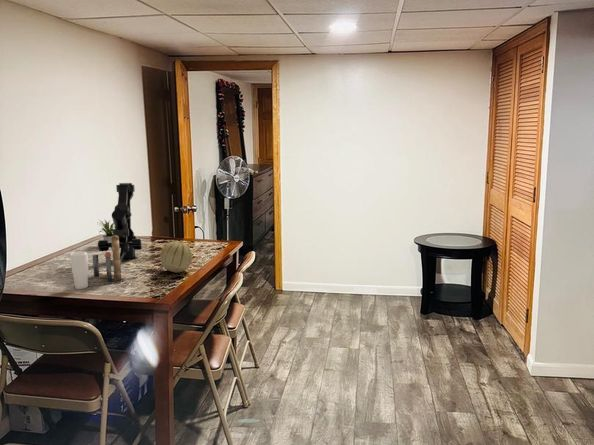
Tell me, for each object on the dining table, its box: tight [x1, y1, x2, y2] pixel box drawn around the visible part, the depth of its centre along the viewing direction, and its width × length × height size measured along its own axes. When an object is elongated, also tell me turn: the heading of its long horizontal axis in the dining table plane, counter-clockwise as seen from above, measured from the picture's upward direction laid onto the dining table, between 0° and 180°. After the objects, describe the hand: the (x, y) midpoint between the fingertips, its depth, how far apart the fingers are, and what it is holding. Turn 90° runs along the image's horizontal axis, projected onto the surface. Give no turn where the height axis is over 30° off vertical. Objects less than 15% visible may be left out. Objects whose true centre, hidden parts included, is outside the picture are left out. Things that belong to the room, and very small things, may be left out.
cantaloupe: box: [159, 239, 193, 273], centre depth 244 cm, size 15×15×15 cm
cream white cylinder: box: [69, 251, 89, 290], centre depth 221 cm, size 7×7×15 cm
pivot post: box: [91, 254, 101, 279], centre depth 237 cm, size 4×4×10 cm
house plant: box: [97, 219, 115, 243], centre depth 292 cm, size 14×14×16 cm
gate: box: [99, 235, 122, 281], centre depth 233 cm, size 12×3×20 cm, turn 68°
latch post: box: [104, 251, 116, 285], centre depth 228 cm, size 4×4×14 cm
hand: (119, 261), depth 234 cm, fingers closed
